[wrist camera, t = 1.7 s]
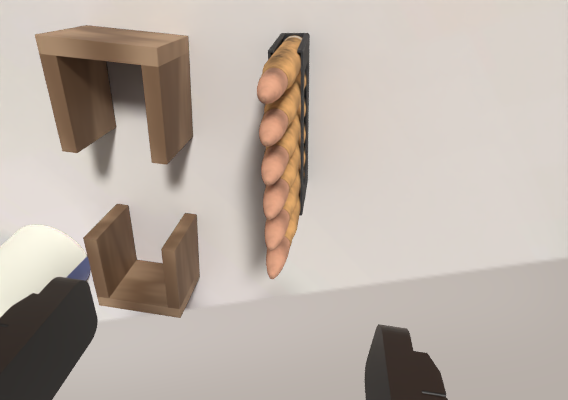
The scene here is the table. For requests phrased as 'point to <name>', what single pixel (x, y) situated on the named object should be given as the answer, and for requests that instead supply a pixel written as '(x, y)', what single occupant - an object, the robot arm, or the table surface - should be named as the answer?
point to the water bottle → (37, 262)
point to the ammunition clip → (284, 142)
